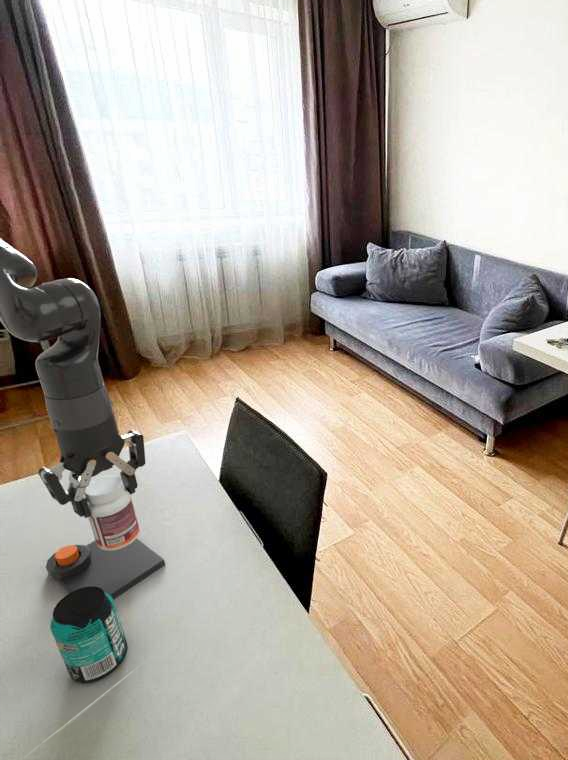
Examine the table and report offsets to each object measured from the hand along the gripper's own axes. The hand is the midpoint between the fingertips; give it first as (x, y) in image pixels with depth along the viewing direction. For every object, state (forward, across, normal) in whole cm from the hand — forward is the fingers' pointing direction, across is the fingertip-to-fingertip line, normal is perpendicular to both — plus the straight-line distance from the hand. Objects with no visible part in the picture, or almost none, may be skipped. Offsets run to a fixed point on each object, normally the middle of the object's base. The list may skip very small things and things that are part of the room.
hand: (108, 502), depth 80 cm
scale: (+15, +2, -2) cm, 15 cm away
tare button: (+12, +5, -7) cm, 15 cm away
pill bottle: (+8, 0, 0) cm, 8 cm away
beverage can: (+15, +11, +14) cm, 23 cm away
